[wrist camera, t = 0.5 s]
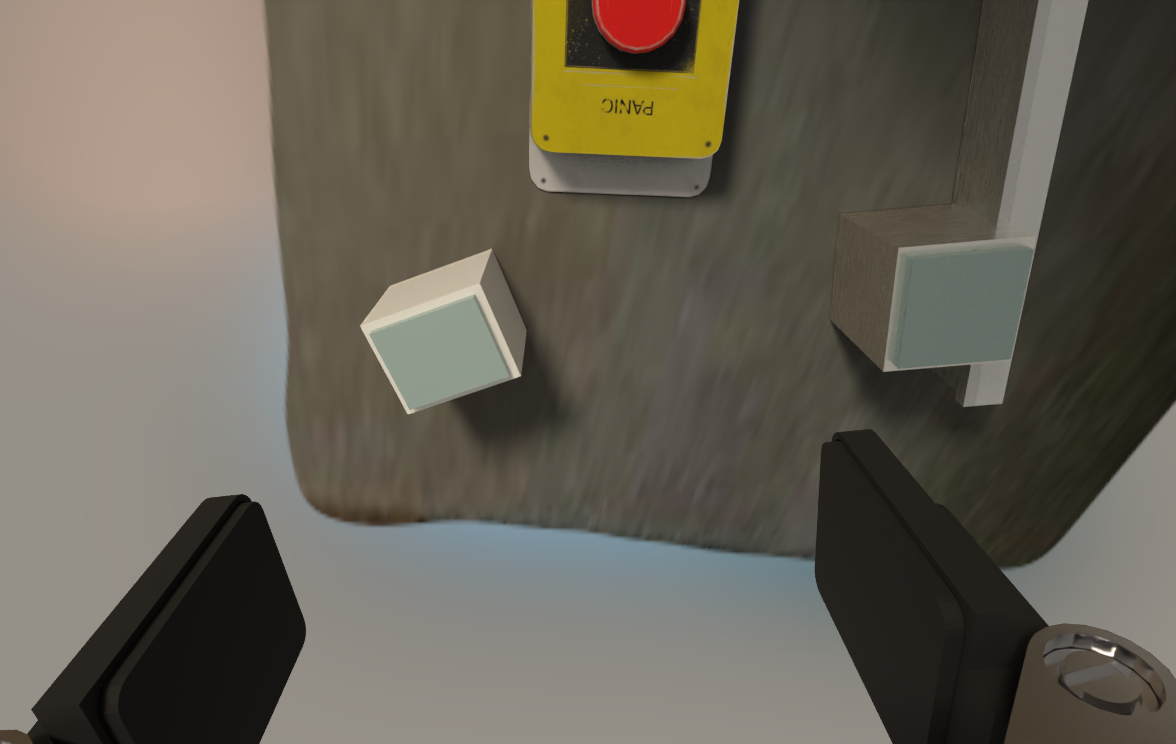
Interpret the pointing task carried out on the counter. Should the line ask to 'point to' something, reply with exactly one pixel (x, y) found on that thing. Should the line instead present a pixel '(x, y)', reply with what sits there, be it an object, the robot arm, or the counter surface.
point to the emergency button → (628, 94)
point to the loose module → (447, 332)
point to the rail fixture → (968, 216)
